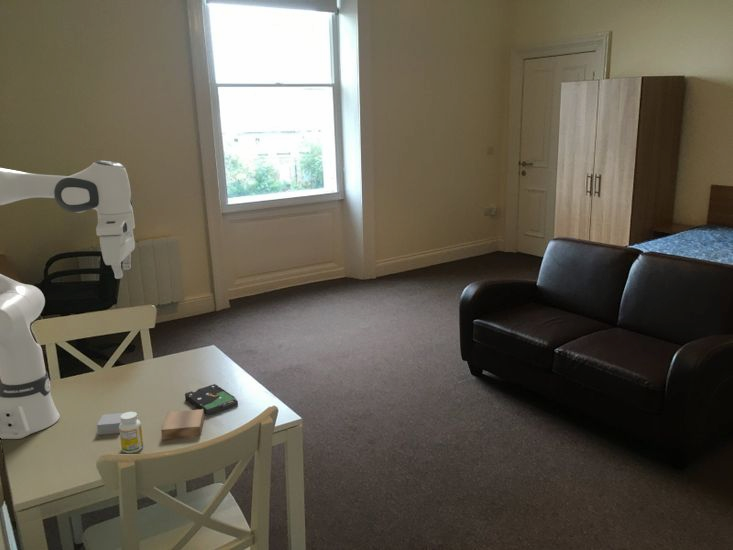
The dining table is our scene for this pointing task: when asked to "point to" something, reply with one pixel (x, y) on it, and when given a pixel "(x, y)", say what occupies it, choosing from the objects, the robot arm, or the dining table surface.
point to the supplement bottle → (130, 433)
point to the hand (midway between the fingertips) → (123, 273)
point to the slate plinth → (109, 424)
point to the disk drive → (211, 399)
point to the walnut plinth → (183, 424)
